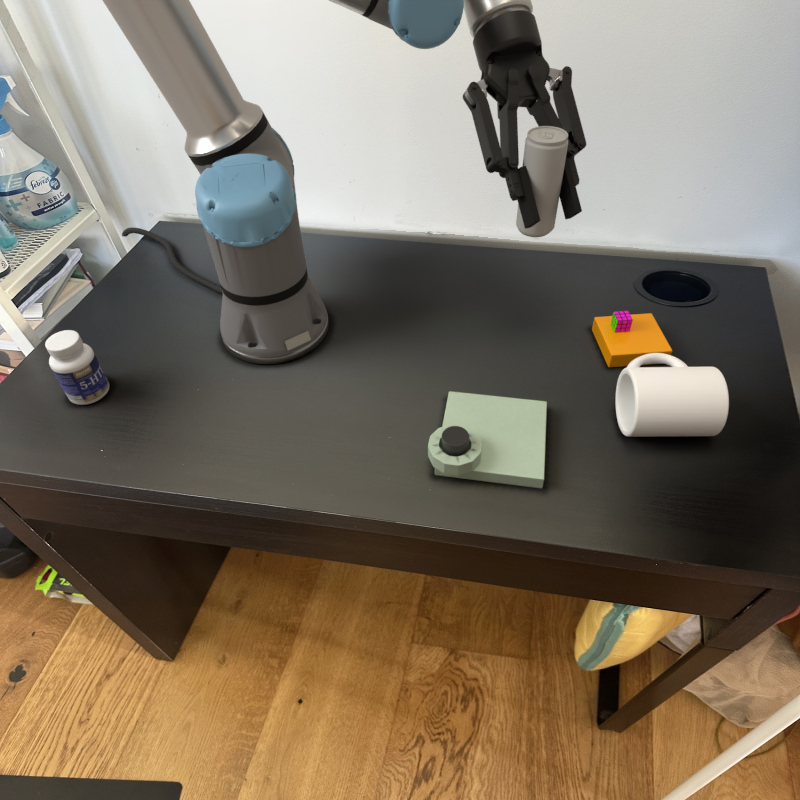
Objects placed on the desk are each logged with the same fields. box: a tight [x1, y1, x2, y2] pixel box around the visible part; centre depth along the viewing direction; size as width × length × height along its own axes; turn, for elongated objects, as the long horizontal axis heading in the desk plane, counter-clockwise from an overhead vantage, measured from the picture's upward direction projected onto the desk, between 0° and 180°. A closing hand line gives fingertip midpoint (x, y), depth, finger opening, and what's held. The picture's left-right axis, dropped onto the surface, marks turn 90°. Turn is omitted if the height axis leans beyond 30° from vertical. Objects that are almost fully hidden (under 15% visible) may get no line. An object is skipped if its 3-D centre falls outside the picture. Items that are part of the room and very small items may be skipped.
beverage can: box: [515, 126, 568, 238], centre depth 75 cm, size 5×5×12 cm
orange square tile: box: [591, 310, 673, 368], centre depth 83 cm, size 8×8×4 cm
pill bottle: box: [44, 329, 110, 406], centre depth 80 cm, size 5×5×9 cm
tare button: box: [442, 426, 469, 456], centre depth 69 cm, size 3×3×2 cm
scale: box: [427, 391, 548, 489], centre depth 73 cm, size 13×13×4 cm
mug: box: [614, 353, 730, 438], centre depth 73 cm, size 12×10×8 cm
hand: (553, 219), depth 74 cm, fingers closed on beverage can, 5 cm apart
